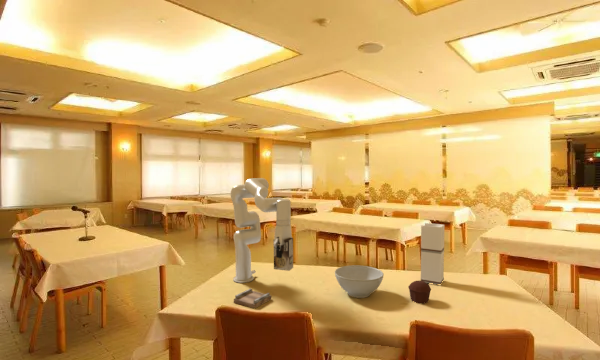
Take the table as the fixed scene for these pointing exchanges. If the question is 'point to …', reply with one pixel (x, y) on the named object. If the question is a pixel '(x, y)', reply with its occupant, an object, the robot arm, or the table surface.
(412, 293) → the muffin
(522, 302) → the table surface
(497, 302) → the table surface
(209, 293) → the table surface
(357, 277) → the decorative bowl
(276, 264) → the coffee box
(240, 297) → the stand
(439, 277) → the mini fridge
